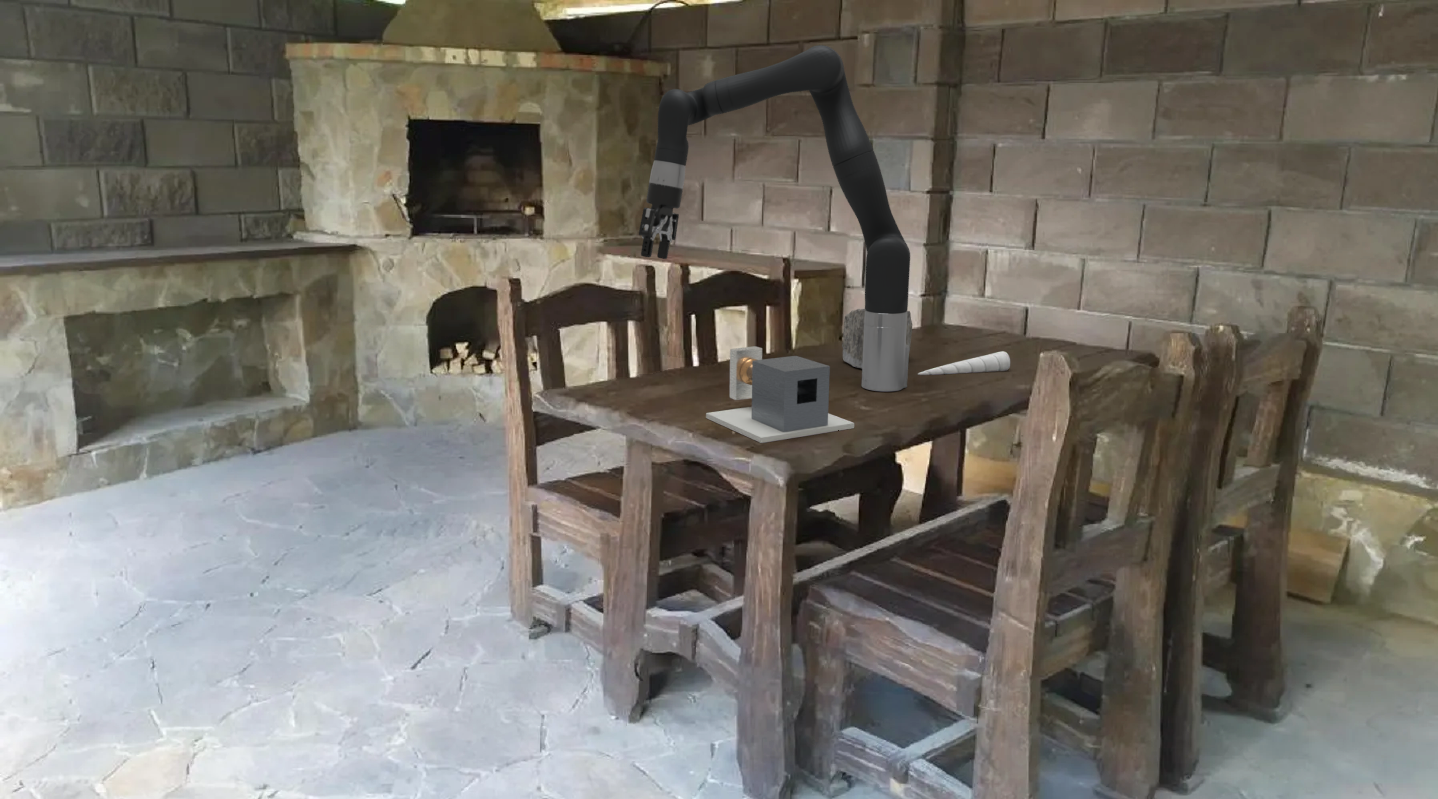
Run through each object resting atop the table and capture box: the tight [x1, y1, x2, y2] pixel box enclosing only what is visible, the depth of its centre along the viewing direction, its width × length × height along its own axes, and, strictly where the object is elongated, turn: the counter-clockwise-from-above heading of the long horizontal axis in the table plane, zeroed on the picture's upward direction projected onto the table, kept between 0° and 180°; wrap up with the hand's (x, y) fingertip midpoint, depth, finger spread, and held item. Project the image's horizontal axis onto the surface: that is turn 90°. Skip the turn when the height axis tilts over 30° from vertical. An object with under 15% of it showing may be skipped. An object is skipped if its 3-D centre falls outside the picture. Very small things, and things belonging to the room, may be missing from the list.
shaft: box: [729, 345, 763, 401], centre depth 202 cm, size 6×16×10 cm, turn 31°
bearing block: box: [751, 355, 831, 432], centre depth 195 cm, size 10×11×11 cm
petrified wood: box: [841, 308, 913, 369], centre depth 253 cm, size 19×17×15 cm
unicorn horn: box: [917, 350, 1011, 376], centre depth 246 cm, size 5×24×5 cm, turn 104°
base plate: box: [705, 406, 855, 444], centre depth 199 cm, size 21×20×1 cm
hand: (654, 257), depth 229 cm, fingers open, 8 cm apart
